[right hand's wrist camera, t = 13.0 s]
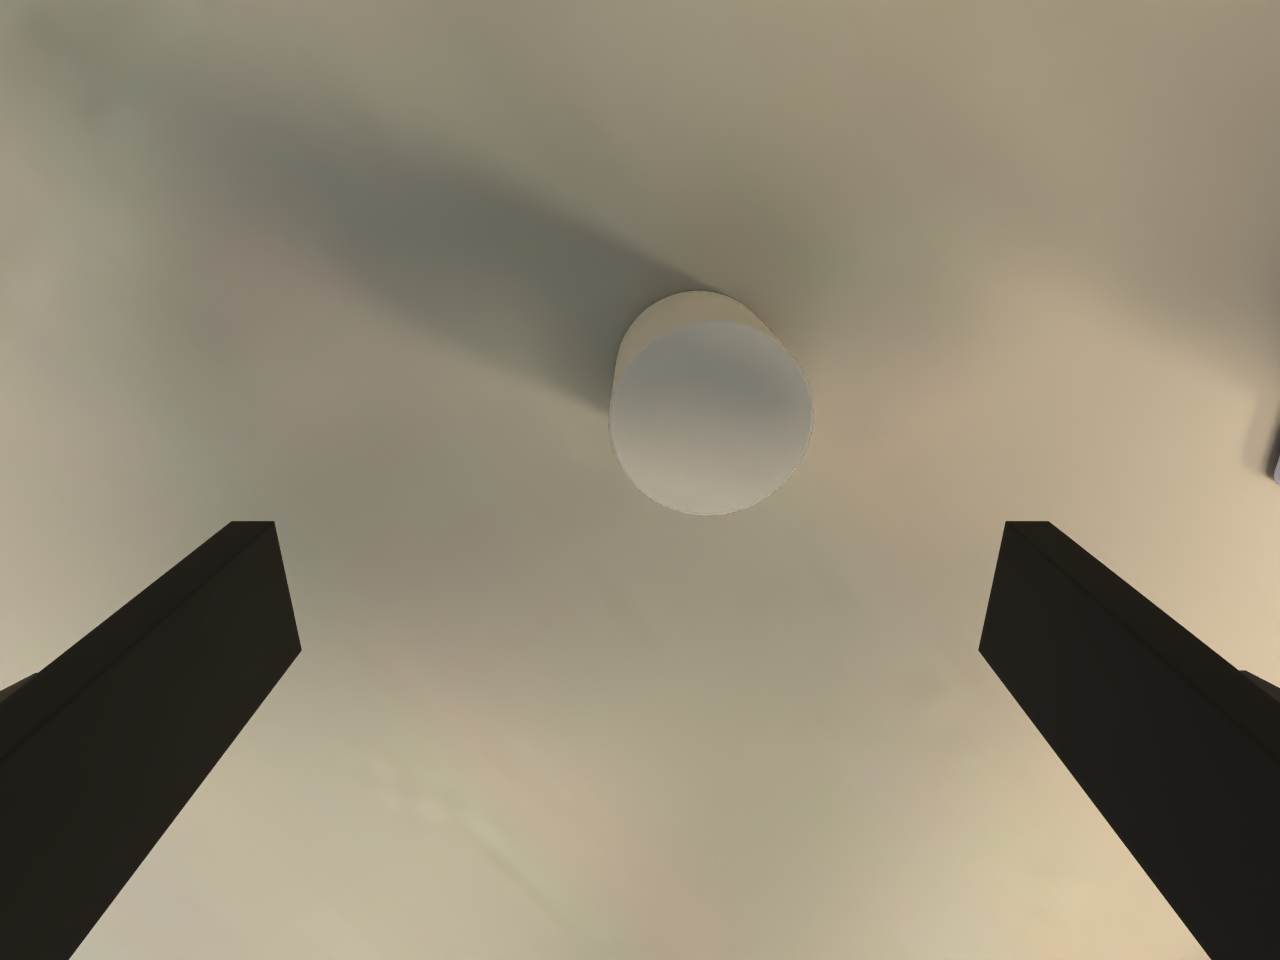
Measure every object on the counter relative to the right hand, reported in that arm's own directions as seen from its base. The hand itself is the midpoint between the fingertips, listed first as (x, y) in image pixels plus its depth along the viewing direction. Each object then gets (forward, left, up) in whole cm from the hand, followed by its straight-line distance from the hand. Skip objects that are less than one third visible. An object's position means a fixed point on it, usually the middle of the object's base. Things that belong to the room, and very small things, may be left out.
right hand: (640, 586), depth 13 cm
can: (-1, -3, -7) cm, 8 cm away
